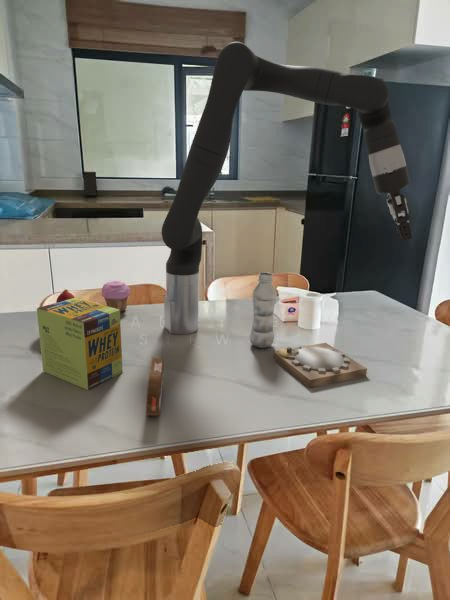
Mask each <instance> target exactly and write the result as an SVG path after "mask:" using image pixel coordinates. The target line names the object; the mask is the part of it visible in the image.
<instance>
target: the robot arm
mask: <svg viewBox="0 0 450 600" xmlns="http://www.w3.org/2000/svg"><path fill="white" fill-rule="evenodd" d="M215 61H216V62H215V65H214V70H213V73H212V78H211V82H210V87H209V90H208V95H207V99H206V103H205V105H204V109H203V111H202V113H201V117H200V119H199V122H198V125H197V128H196V131H195V134H194V137H193V139H192V141H191V145H190V147H189V152H188V155H187V157H186V161H185V165H184V167H183V171H182V174H181V177H180V179H179V182H178V183H179V184H178V187H177V191H176V193H175V196H174V198H173V201H172V203H171V206H170V207H169V210H168V212H167V214H166V216H165V218H164V221H163V223H162V226H161V237H162V240H163V241H162V242H163V243H164V245H165V246H166V247H167V248H168V249H170V254H169V256H168V258H167V260H166V263H165V271H166V272H165V281H166V282H165V283H166V284H165V285H166V286H165V289H166V291H165V292H166V293H165V295H164V297H163V299H164V304H163V307H164V312H163V313H164V319H163V320H164V328H165V329H166V331H167V332H168V333H169V334H172V335H173V334H178V335H187V334H193V333H196V332H197V331H198V330H199V301H200V300H199V299H200V298H199V297H200V295H199V293H200V291H199V289H200V288H199V285H200V283H199V282H200V264H201V261H202V256H203V254H202V251H203V250H202V249H203V228H202V227H203V226H202V223H201V222H200V220H199V218H198V216H199V213H200V210H201V208H202V205H203V203H204V201H205V200H206V197H207V196H208V194H209V193H210V191H211V190H212V189H213V187H214V185H215V183H216V182H217V180H218V179H219V177H220V174H221V172H222V170H223V167H224V164H225V161H226V159H227V156H228V153H229V150H230V145H231V139H232V133H233V132H232V130H233V121H234V118H235V117H234V116H235V113H236V109H237V106H238V103H239V101H240V98H241V96H242V93H243V92H244V91H247V92H249V91H250V92H252V91H253V92H267V93H275V94H280V95H285V96H290V97H293V98H297V99H302V100H305V101H308V102H309V101H310V102H313V103H317V104H322V105H325V106H326V105H327V106H332V107H336V106H341V107H346V108H351V109H354V110H356V111H357V116H358V118H359V121H360V124H361V127H362V129H363V136H364V137H363V138H364V142H365V143H364V144H365V147H366V151H367V154H368V160H369V161H368V162H369V168H370V172H371V176H372V180H373V183H374V189H375V191H376V193H377V195H381V194H387V196H386V197H387V198H388V199H386V204H387V207H389V213H390V215H391V217H392V219H393V221H394V222H395V227H396V231H397V234H398V235H399V236H400V238H401V240H402V242H403V241H408V240H409V241H410V240H411V239H412V238H413V236H412V232H411V231H412V230H411V227H410V224H409V223H410V219H411V218H410V216H409V208H408V205H407V198H406V195H405V194H403V193H402V191H401V189H403V188H406V187H408V186H409V185H410V184H411V178H410V176H409V172H408V167H407V162H406V158H405V154H404V151H403V150H402V149H403V148H402V145H401V143H400V139H399V134H398V130H397V126H396V125H395V123H394V121H393V118H392V114H391V109H390V104H389V96H390V91H389V89H390V88H389V86H388V84H387V82H385V81H384V79H382V78H380V77H377V76H372V75H365V74H356V73H355V74H354V73H343V72H340V71H336V70H331V69H327V68H322V67H318V66H309V65H307V66H306V65H288V64H282V63H277V62H273V61H271V60H267V59H265V58H263V57H261V56H258V55H256V54H255V52H253V51H252V50H251V48H250V47H248V46H247V45H246V44H245V43H243V42H240V41H232V42H229V43H228V44H226V45H225V46H224V47H223V48H222V49H221V51H220V52H219V53H218V55H217V58H216V60H215Z"/></svg>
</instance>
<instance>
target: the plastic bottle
mask: <svg viewBox="0 0 450 600" xmlns="http://www.w3.org/2000/svg"><path fill="white" fill-rule="evenodd" d="M273 277H274V275H273V273H272V272H260V273H258V279H257V282H258V283H257V285H256V286H255V287H254V289H252V307H253V309H252V310H253V311H252V312H253V317H252V324H251V329H250V333H249V341H250V343H251V345H252V346H253V347H256V348H260V349H266V348H270V347H271V346H272V344H273V343H274V339H275V333H274V312H275V305H276V301H277V297H278V296H277V295H278V294H277V290H276V288H275V286H274V285H273V284H272V282H273Z"/></svg>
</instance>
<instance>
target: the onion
mask: <svg viewBox="0 0 450 600" xmlns="http://www.w3.org/2000/svg"><path fill="white" fill-rule="evenodd" d="M72 298H76V297H75V295H74V294H73V293H71V292H69V289H68V288H64V290H63V291H62V292H61V293H60V294H59V295H58V297H57V298H56V301H55V303H58V302H61V301H65V300H69V299H72Z"/></svg>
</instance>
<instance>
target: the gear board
mask: <svg viewBox="0 0 450 600" xmlns="http://www.w3.org/2000/svg"><path fill="white" fill-rule="evenodd" d="M272 352H273V353H272V354H273V355H272V359H273V360H274V361H275V362H277V364H279V365H280V366H281V367H283V368H284V369H285V370H286V371H287V372H289V373H290V374H291V375H292V376H294V377H295V378H296V379H298V380H299V381H300V382H301V383H303V384H304V386H306V387H307V388H308V389H311V388H315V387H321V386H326V385H330V384H334V383H339V382H345V381H348V380H349V381H350V380H353V379H358V378H363V377H367V373H368V368H367V367H365V366H364V365H362V364H360V363H359V362H357V360H355V359H353V358H351V357H350V356H349V355H347V354H345V353H344V352H343V351H340V350H338V349H336V348H335V347H334V346H332V345H331V344H328V343H327V342H323V343H316V344H310V345H309V344H308V345H300V346H298V347H291V346H290V347H289V346H288V347H282V348H280V349H279V350H273V351H272Z"/></svg>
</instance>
